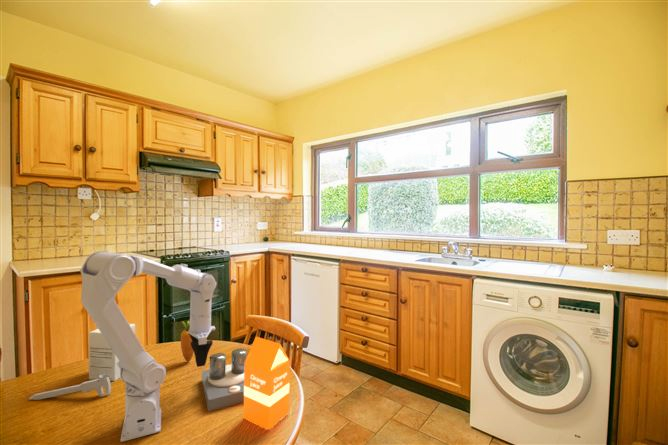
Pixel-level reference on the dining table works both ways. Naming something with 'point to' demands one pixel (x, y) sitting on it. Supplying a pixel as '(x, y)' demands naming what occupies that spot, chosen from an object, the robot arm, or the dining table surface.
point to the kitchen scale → (223, 389)
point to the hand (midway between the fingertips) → (199, 360)
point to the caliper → (79, 388)
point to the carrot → (186, 343)
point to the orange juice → (266, 383)
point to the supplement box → (102, 357)
